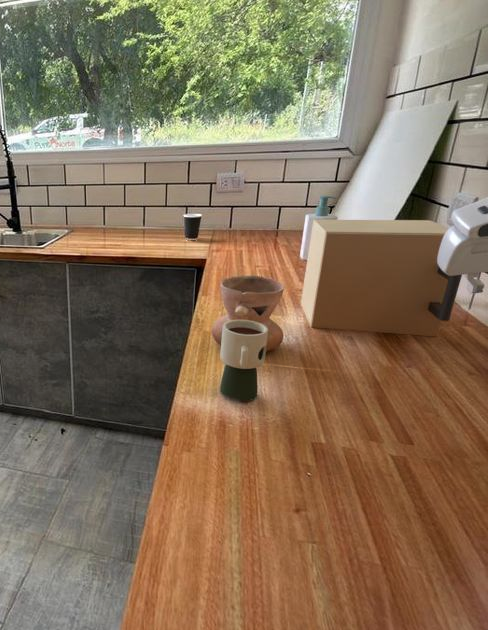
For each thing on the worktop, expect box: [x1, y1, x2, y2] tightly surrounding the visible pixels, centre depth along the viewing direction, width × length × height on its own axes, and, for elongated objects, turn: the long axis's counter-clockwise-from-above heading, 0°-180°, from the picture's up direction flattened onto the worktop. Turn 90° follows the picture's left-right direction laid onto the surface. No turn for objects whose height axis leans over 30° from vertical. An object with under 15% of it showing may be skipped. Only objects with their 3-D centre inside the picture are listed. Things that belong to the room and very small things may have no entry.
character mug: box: [219, 320, 268, 402], centre depth 77 cm, size 11×7×13 cm, turn 162°
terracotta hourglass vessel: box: [210, 274, 285, 353], centre depth 96 cm, size 18×14×14 cm
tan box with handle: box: [310, 233, 463, 337], centre depth 95 cm, size 7×24×22 cm, turn 72°
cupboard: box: [300, 219, 450, 327], centre depth 105 cm, size 16×24×22 cm, turn 72°
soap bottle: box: [299, 195, 339, 262], centre depth 158 cm, size 10×9×22 cm
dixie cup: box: [183, 213, 203, 240], centre depth 198 cm, size 8×8×11 cm
